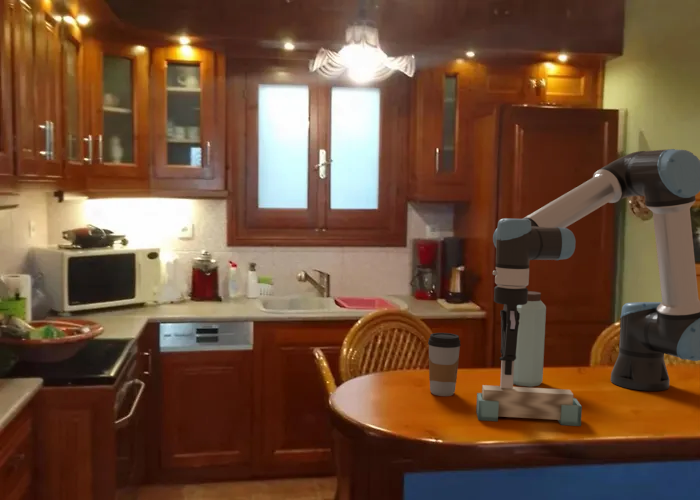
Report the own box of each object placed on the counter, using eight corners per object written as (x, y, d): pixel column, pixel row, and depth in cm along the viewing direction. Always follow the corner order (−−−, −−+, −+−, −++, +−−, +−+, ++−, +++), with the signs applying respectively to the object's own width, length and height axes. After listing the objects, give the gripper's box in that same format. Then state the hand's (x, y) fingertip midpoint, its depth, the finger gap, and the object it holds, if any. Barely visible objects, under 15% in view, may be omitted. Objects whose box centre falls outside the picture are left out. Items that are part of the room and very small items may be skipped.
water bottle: (534, 389, 192) (539, 296, 190) (500, 382, 198) (504, 292, 196) (549, 382, 200) (553, 292, 198) (515, 376, 206) (519, 289, 204)
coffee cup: (457, 398, 182) (460, 339, 181) (424, 395, 184) (426, 337, 182) (459, 390, 190) (461, 333, 189) (427, 387, 192) (429, 331, 190)
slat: (568, 415, 168) (569, 389, 168) (572, 420, 164) (573, 394, 164) (481, 410, 170) (482, 385, 169) (482, 415, 166) (483, 389, 165)
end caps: (574, 417, 169) (575, 398, 169) (580, 426, 163) (581, 406, 162) (476, 411, 171) (477, 392, 171) (478, 420, 165) (479, 400, 165)
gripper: (491, 282, 172) (487, 379, 174) (497, 289, 159) (492, 394, 161) (524, 283, 171) (519, 381, 173) (532, 290, 158) (527, 396, 160)
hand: (506, 387), depth 167 cm, fingers closed
